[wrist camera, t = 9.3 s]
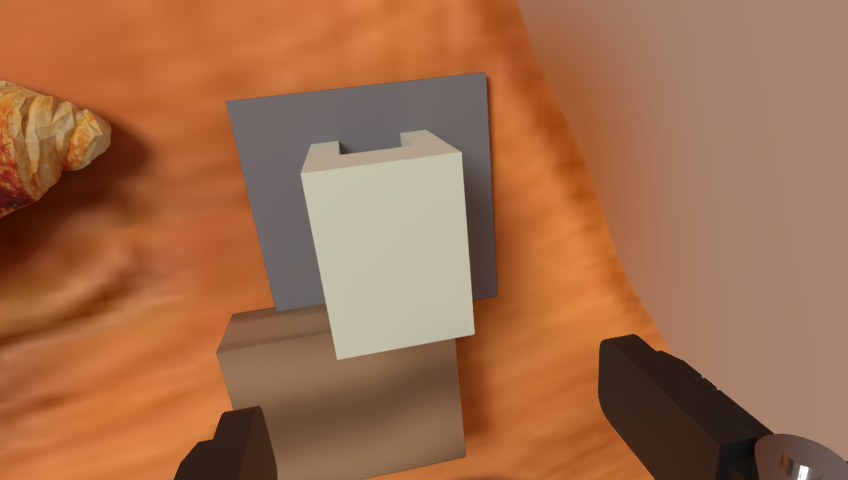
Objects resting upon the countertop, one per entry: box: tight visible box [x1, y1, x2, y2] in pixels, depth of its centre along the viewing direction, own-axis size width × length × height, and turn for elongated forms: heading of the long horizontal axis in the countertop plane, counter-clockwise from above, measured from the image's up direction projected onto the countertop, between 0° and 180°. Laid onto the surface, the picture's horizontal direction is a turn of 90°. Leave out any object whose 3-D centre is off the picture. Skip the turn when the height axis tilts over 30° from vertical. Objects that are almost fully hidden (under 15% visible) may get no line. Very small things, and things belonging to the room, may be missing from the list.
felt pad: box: [226, 73, 497, 312], centre depth 26 cm, size 13×13×1 cm
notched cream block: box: [301, 130, 475, 360], centre depth 22 cm, size 6×8×8 cm
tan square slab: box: [216, 303, 466, 480], centre depth 27 cm, size 10×12×4 cm
